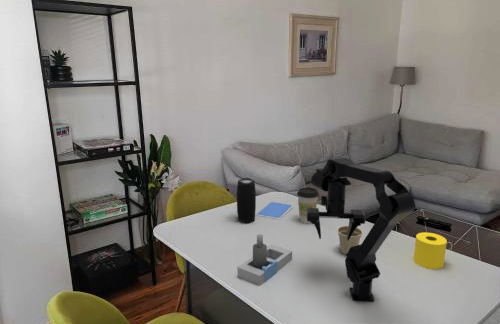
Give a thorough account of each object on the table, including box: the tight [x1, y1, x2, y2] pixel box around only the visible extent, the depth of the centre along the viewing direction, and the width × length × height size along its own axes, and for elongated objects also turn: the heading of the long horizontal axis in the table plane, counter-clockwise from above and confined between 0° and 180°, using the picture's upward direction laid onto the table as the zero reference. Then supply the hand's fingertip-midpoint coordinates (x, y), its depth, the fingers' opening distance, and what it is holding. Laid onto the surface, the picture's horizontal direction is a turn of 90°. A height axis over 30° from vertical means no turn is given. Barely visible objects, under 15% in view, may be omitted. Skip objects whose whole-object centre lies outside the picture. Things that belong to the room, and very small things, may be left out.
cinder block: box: [236, 244, 293, 286], centre depth 134 cm, size 10×21×4 cm, turn 144°
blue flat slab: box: [255, 201, 294, 221], centre depth 187 cm, size 19×13×1 cm, turn 154°
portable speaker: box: [236, 177, 257, 224], centre depth 174 cm, size 9×9×20 cm
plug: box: [252, 234, 268, 270], centre depth 130 cm, size 5×5×14 cm
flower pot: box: [336, 225, 364, 255], centre depth 145 cm, size 9×9×9 cm
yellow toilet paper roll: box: [413, 231, 448, 270], centre depth 137 cm, size 10×10×9 cm
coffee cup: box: [296, 187, 320, 225], centre depth 173 cm, size 10×10×15 cm
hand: (333, 239), depth 128 cm, fingers open, 9 cm apart
